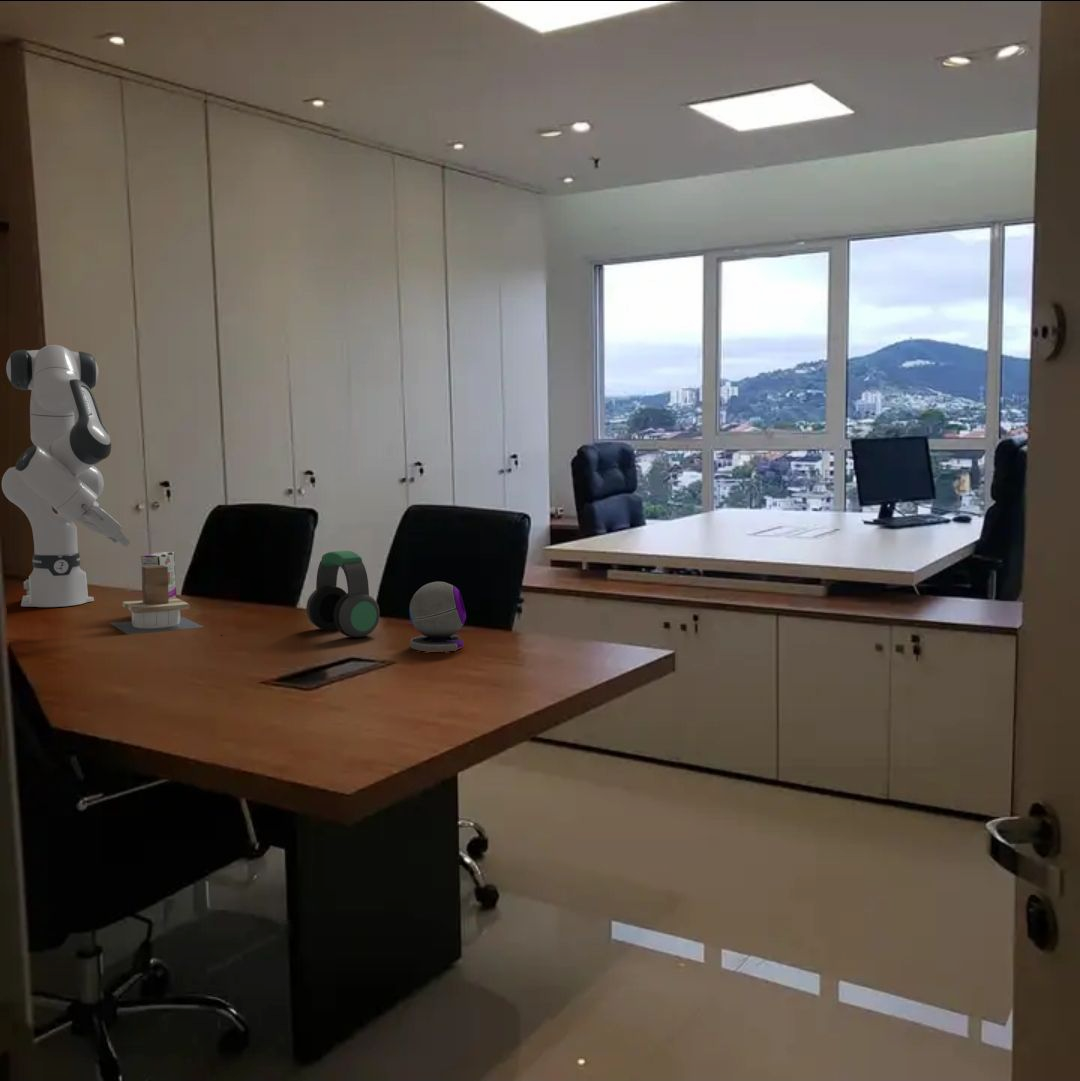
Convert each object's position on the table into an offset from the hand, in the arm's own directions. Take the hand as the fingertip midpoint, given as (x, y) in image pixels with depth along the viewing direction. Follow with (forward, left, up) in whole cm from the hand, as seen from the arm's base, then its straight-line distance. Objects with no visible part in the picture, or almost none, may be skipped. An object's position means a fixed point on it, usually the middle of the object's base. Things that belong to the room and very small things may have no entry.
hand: (122, 542), depth 259 cm
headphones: (+33, +42, -22) cm, 58 cm away
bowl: (0, +7, -21) cm, 22 cm away
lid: (0, +7, -17) cm, 18 cm away
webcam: (+60, +53, -22) cm, 83 cm away
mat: (0, +7, -21) cm, 23 cm away
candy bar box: (-14, +12, -21) cm, 28 cm away
